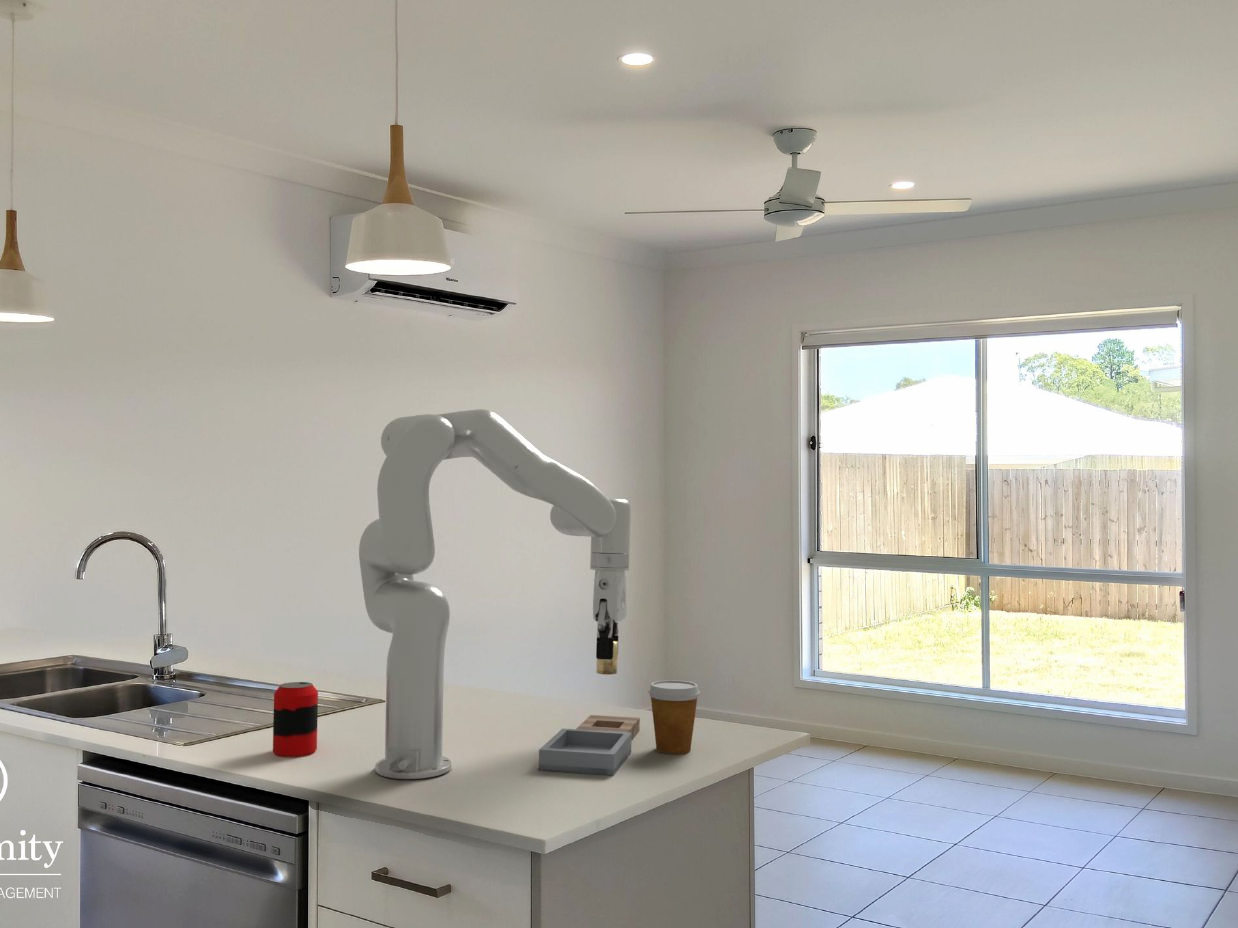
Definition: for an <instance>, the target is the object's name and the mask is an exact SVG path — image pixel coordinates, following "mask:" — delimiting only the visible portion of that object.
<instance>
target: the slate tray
mask: <svg viewBox="0 0 1238 928" xmlns="http://www.w3.org/2000/svg"><path fill="white" fill-rule="evenodd" d="M632 741H633V740H632V733H629V732H613V731H596V730H579V729H576V728H561V729H560V730H559V731H558V732H557V733H556V734H554V736H552V737H551V738H550V739H549V740H548V741H547V742H546V743H545V744H544V745H542V746H541V747H540V748H539V749H538V771H542V772H543V771H544V772H559V773H575V774H587V775H588V774H589V775H602V776H614V775H616V773H617V772H618V770H619V769H620V768H621V766H623V764H624V763H625V762H626V760H627V759H628V757H629V756H630V755H631V753H632Z"/></svg>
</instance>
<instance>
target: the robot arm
mask: <svg viewBox="0 0 1238 928" xmlns="http://www.w3.org/2000/svg"><path fill="white" fill-rule="evenodd" d="M380 445H381V446H380V447H381V449H382V451H383V453H384V455H385V456H386V457H385V459H384V460H383V463H382V466H381V468H380V470H379V473H378V477H377V487H376V491H377V493H376V494H377V505H378V506H377V508H378V509H377V510H378V518H377V519H375V520H373V521H371V523H369V524H368V525H367V526H366V528H365V529H364V530H363V532H362V534H361V536H360V540H359V547H358V558H359V567H360V576H361V583H362V591H363V598H364V604H365V609H366V612H367V615H368V618H369V620H370V621H371V623H372V624H373V625H374V626H375V627H376V628H378V629H379V630H381V631H383V632H387V633H390V634H392V637H391V641H390V643H389V644H390V645H389V649H388V653H387V658H386V669H385V670H386V674H385V676H386V679H385V680H386V681H385V682H386V683H385V685H386V686H385V687H386V688H385V733H384V736H385V739H384V743H385V744H384V745H385V746H384V758H382V759H380V760H378V761H376V763H375V766H374V768H375V769H374V770H375V772H376V773H377V775H379V776H381V777H384V778H390V779H397V780H418V779H419V780H420V779H421V780H422V779H428V778H435V777H437V776H438V777H439V776H441V775H444V774H447V773H448V772H449V771H450V770H451V769H452V760H451V759H449V758H448V757H446V756H443V734H444V733H443V729H444V728H443V727H444V725H443V724H444V722H443V721H444V673H445V672H444V670H445V669H444V667H445V666H444V665H445V664H444V662H445V649H446V643H447V642H446V641H447V635H448V630H449V626H450V619H451V616H450V615H451V611H450V605H449V602H448V599H447V597H446V596H445V594H444V593H443V591H441V590H440V589H439V588H437V586H434V585H432V584H430V583H427V582H422V581H418V580H414V575H418V574H420V573H423V572H425V571H426V570H428V569H429V568H430V567H431V566H432V564H433V562H434V560H435V553H436V550H435V549H436V548H435V546H436V545H435V539H434V530H433V523H432V521H433V520H432V514H431V507H430V483H431V480H432V477H433V475H434V473H435V470H436V469H437V468H438V466H439V465H440V464H441V463H442V462H443V461H445V460H451V459H457V458H459V459H460V458H474V459H475V460H477V461H478V463H480V464H482V465H483V466H484V467H485V468H486V469H488V470H489V472H491V473H492V474H494V476H496V477H498V479H499V480H500V481H502V482H503V483H504V484H506V486H508V487H509V488H510V489H512V490H513V491H515V492H517V493H519V494H521V495H524V496H526V497H528V498H532V499H536V500H539V501H542V502H545V503H547V504H550V505H552V507H551V509H550V512H549V513H550V514H549V518H550V519H549V520H550V522H551V526H553V528H554V529H556V531H557V532H559V533H561V534H563V535H566V536H571V537H572V536H573V537H590V559H589V560H590V561H589V564H590V565H589V566H590V570H593V571H594V579H593V581H594V582H593V594H592V595H593V596H592V597H593V599H592V616H593V617H592V618H593V620H594V621H595V622H597V628H596V649H595V654H596V655H595V658H596V660H597V659H608V660H611V659H613V643H614V641H618V642H619V623H620V622H621V621H623V620H624V619H625V618H627V578H626V571H629V570H630V547H631V546H630V545H631V544H630V543H631V540H630V539H631V510H632V509H631V503H630V502H629V501H628V500H627V499H624V498H611V497H607V496H606V494H604V493H603V492H602V491H601V490H600V489H598V487H597V486H596V485H594V484H593V483H592V482H591V481H590V480H588V479H586V477H584V476H582V475H580V474H579V473H577V472H575V471H574V470H572V469H570V468H568V467H566V466H565V465H564V464H561V463H560V462H559V461H558V462H557V460H555V459H553V458H550V457H548V456H547V455H545V454H543V453H542V451H540V450H539V449H538V448H536V446H534V445H533V444H532V443H531V442H530V441H528V440H527V439H526V438H524V437H523V436H522V435H521V434H520V433H519V432H518V431H517V430H516V429H514V427H513V426H511V424H509V423H508V422H507V421H506V420H504V418H503V417H501V416H500V415H499V414H497V413H496V412H493V411H492V410H489V409H484V408H483V409H482V408H481V409H478V408H477V409H471V410H460V411H454V412H447V413H440V414H432V413H431V414H430V413H429V414H418V415H410V416H401V417H398V418H394V419H393V420H391V421H390V422H389V423H388V424H387V425H385V427H384V429H383V430H382V433H381V436H380Z"/></svg>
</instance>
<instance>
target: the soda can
mask: <svg viewBox="0 0 1238 928" xmlns="http://www.w3.org/2000/svg"><path fill="white" fill-rule="evenodd" d="M318 707H319V691H318V690H317V688H316V687H315V686H314V685H313V683H311V682H309V681H307V682H306V681H292V682H285V683H281V684H280V685H279V686H278V687H277V689H276V690H275V691H274V693H273V719H272V720H273V722H272V723H273V724H272V725H273V729H272V753H273V754H274V755H275V756H277V757H281V758H299V757H304V756H305V757H306V756H310V755H312V754H315V753H316V751H317V749H318V716H319V715H318V713H319V712H318V711H319V710H318V709H319V708H318Z"/></svg>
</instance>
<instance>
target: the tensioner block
mask: <svg viewBox="0 0 1238 928" xmlns="http://www.w3.org/2000/svg"><path fill="white" fill-rule="evenodd" d="M640 719H641V717H633V716H632V717H631V716H614V715H613V716H611V715H597V714H596V715H595V714H590V715H588V717H587V718H586V719H585V720H584V721H583V722H582V723H581V724H579V725H578V726H577V727H576V728H575V729H579V730H596V731H613V732H629V733H632V741H633V740H634V739H635V737H636V736H637V734H638V733H639V732H640V729H641V727H640V726H641V725H640V724H641V723H640V722H641V721H640Z"/></svg>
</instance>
